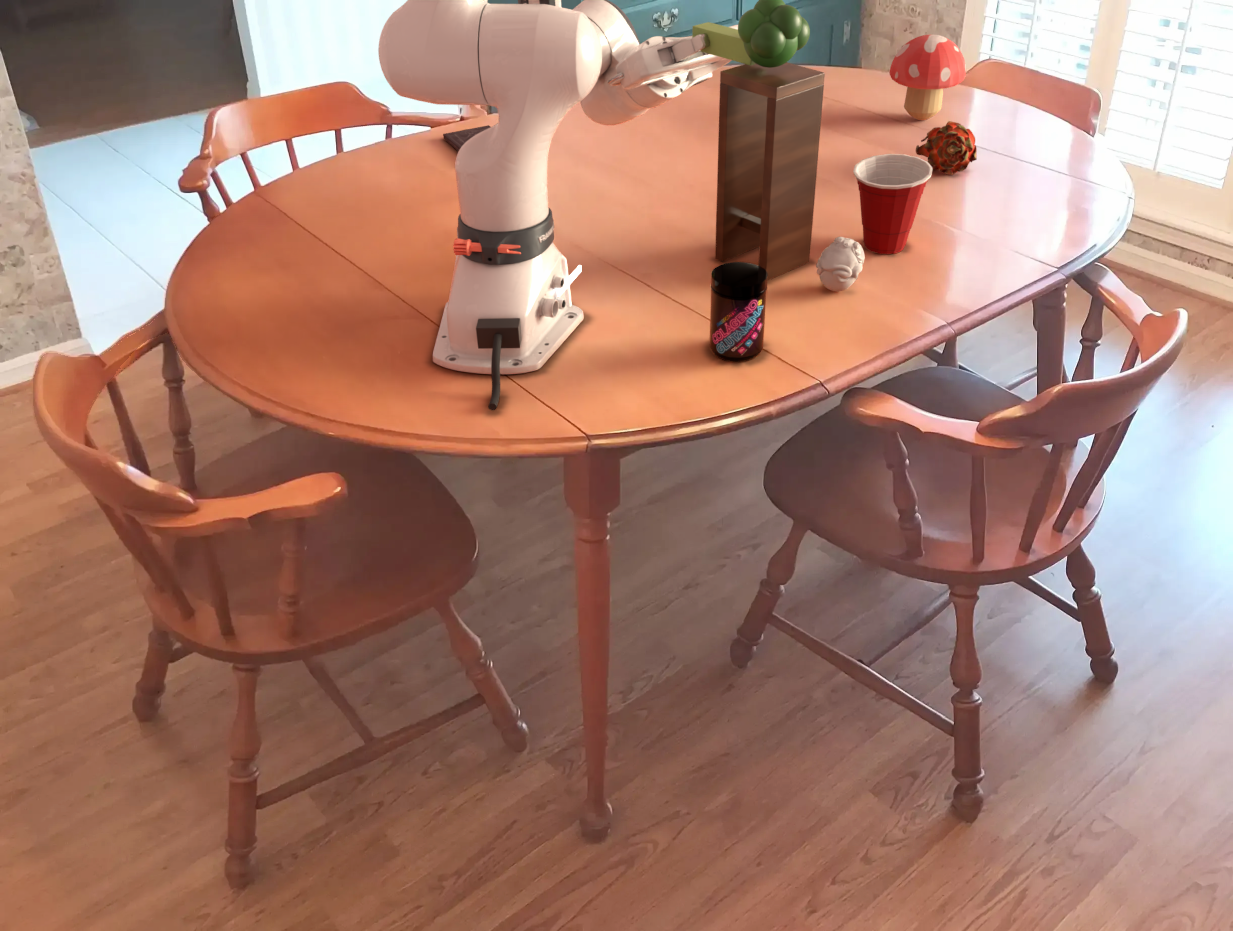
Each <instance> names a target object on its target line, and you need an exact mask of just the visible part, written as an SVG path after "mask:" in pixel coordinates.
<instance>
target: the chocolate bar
mask: <svg viewBox="0 0 1233 931" xmlns="http://www.w3.org/2000/svg"><path fill="white" fill-rule="evenodd" d="M490 127H491V126H490V125H489V124H488V125H483V126H477V127H473V128H467V129H461V130H457V131H450V132H446V133H443V140H444V141H445V142H446V143H448V144H449V145H450V146H451V147H452V148H453V149H455V150H456V151H457V153H458V152H459V150H460V148H461V147H462V146H463V144H464V143H465V142H467V141H468V140H469V139H470V138H472V137H473V136H475V135H477V134H478V133H480V132H482V131H484V130H486V129H488V128H490Z"/></svg>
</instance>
